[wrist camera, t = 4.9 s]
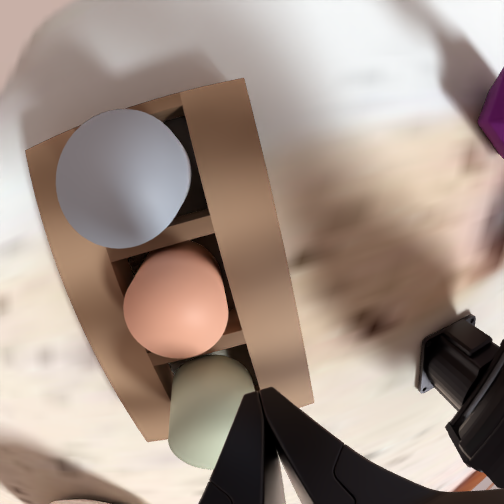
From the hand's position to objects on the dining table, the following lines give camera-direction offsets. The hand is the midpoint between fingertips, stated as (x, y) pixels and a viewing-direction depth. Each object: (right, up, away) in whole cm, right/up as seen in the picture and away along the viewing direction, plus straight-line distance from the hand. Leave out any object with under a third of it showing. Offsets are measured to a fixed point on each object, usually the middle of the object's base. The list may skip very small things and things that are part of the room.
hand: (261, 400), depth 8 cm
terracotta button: (-5, +3, +11) cm, 12 cm away
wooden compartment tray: (-5, +3, +11) cm, 12 cm away
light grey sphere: (-6, +8, +6) cm, 12 cm away
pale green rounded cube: (-3, -4, +10) cm, 11 cm away
